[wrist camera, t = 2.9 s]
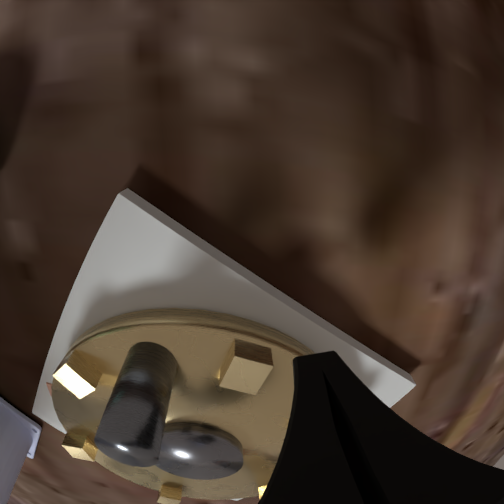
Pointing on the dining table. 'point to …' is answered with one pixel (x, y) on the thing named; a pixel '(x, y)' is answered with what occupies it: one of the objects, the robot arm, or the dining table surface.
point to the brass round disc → (179, 400)
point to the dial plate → (190, 296)
